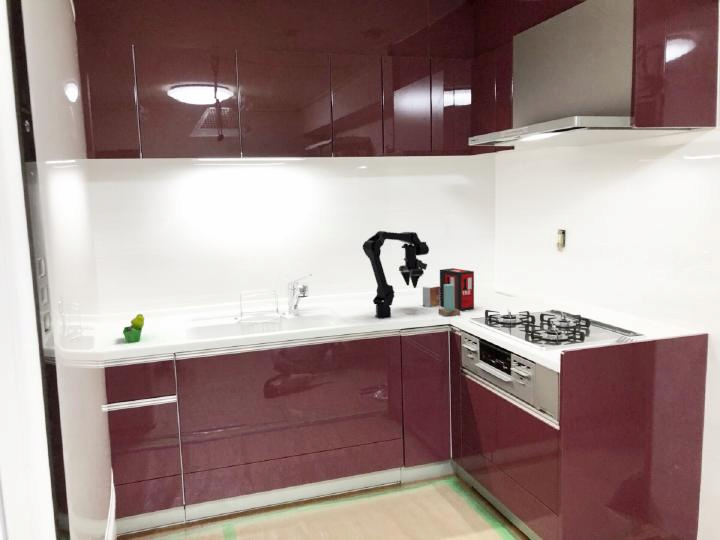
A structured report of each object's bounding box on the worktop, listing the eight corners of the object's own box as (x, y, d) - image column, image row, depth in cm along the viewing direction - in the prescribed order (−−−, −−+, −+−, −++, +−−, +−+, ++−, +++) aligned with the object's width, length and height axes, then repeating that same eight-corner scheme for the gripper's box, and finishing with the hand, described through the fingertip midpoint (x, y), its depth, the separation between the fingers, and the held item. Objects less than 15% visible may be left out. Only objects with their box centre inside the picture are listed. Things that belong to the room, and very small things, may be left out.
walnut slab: (445, 316, 289) (445, 311, 289) (438, 313, 296) (438, 308, 296) (460, 315, 291) (460, 310, 291) (452, 312, 299) (452, 307, 299)
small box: (430, 307, 313) (429, 287, 312) (422, 305, 318) (422, 286, 316) (440, 305, 318) (440, 286, 317) (432, 303, 323) (432, 285, 321)
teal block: (445, 310, 291) (445, 285, 290) (443, 308, 296) (443, 284, 294) (454, 310, 291) (454, 285, 290) (452, 308, 296) (452, 284, 294)
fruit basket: (125, 337, 264) (123, 313, 262) (146, 335, 267) (144, 311, 265) (123, 343, 253) (121, 318, 252) (145, 341, 256) (143, 316, 254)
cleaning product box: (440, 306, 314) (439, 269, 312) (452, 304, 319) (452, 268, 316) (460, 311, 300) (460, 272, 298) (473, 309, 305) (473, 271, 302)
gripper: (432, 257, 293) (433, 288, 296) (417, 253, 311) (418, 282, 313) (412, 258, 290) (412, 289, 292) (398, 255, 308) (399, 284, 310)
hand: (411, 286), depth 302 cm, fingers open, 9 cm apart
